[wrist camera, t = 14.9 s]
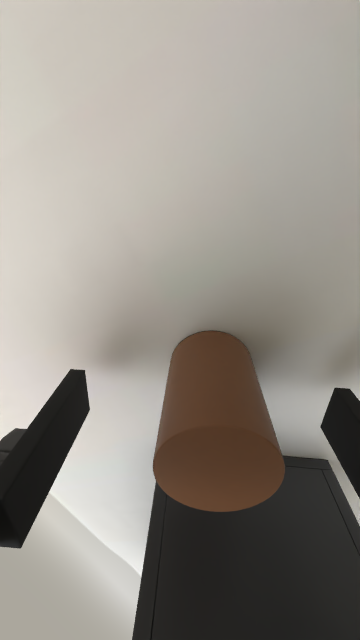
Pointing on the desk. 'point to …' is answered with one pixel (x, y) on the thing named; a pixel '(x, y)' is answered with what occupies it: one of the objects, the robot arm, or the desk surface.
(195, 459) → the brown cylinder
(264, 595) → the dark grey box
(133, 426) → the desk surface
